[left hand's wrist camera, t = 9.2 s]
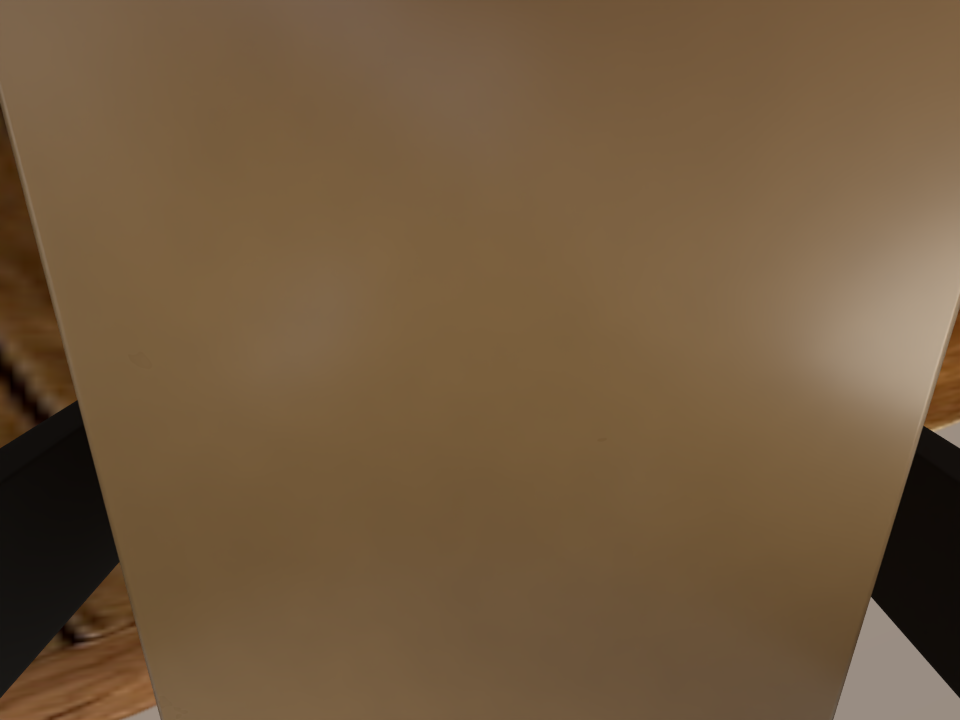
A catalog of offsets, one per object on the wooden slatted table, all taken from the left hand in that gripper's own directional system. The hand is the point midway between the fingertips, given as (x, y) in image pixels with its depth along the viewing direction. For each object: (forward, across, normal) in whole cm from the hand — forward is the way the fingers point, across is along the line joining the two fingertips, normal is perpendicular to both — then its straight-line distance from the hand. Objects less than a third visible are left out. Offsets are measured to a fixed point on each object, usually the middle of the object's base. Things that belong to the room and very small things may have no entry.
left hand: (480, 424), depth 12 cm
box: (+2, 0, -8) cm, 8 cm away
